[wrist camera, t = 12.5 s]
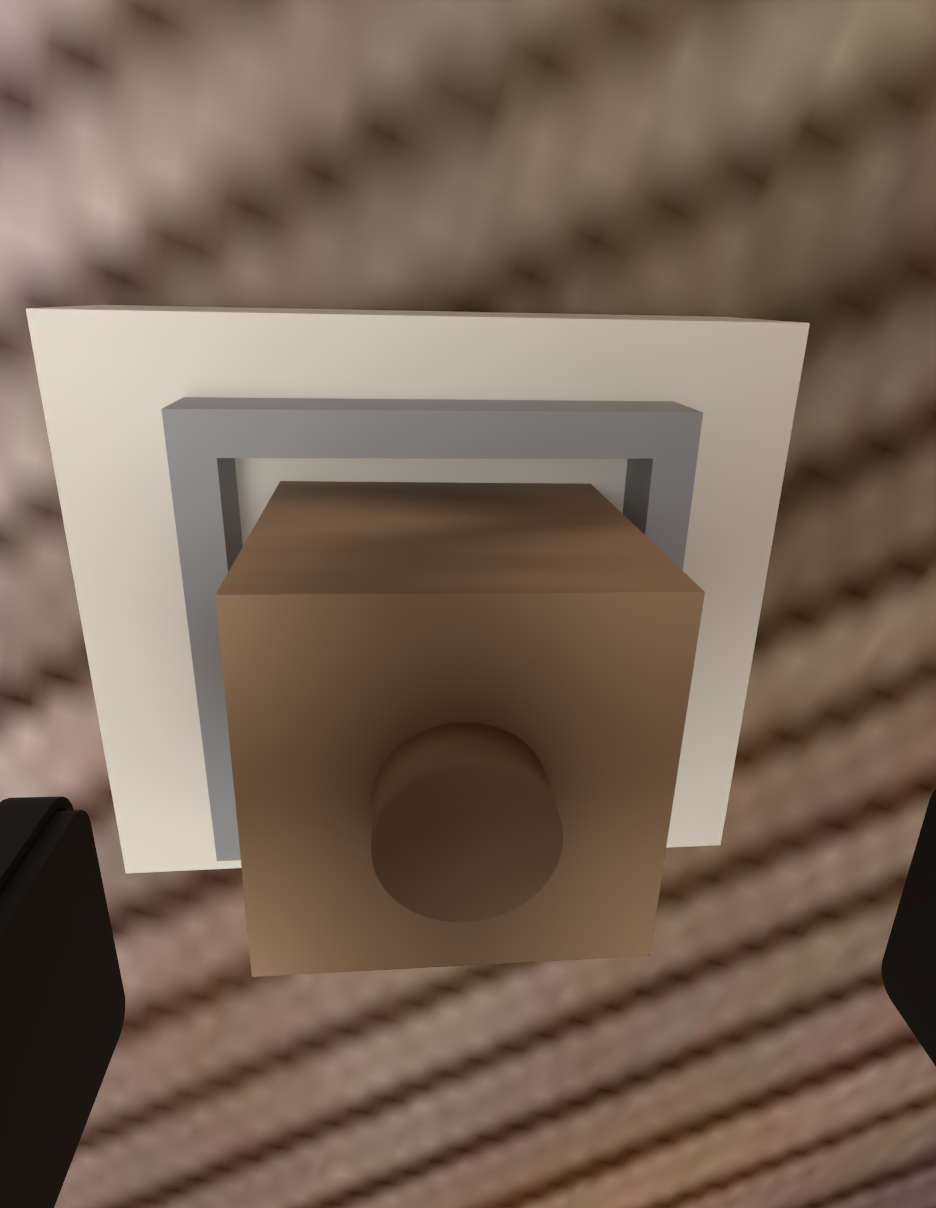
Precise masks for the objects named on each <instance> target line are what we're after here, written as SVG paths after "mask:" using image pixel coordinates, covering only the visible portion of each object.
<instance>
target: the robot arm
mask: <svg viewBox="0 0 936 1208" xmlns="http://www.w3.org/2000/svg"><path fill="white" fill-rule="evenodd" d="M882 978H883V983H884V986H885V989H886V991H887V994H888V995H889V997H890V999H891V1001H892V1002H893V1004H894V1005H895V1007H896V1008H897V1010H898V1011H899V1013H900V1014H901V1016H902V1017H903V1018H904V1020H905V1021H906V1023H907V1024H908V1026H909V1027H910V1029H911V1030H912V1032H913V1033H914V1035H915V1036H916V1038H917V1039H918V1041H919V1042H920V1044H921V1045H922V1047H923V1048H924V1050H925V1051H926V1053H927V1054H928V1055H929V1057H930V1058H931V1060H932V1061H933V1063H934V1064H935V1066H936V790H935V791H934V792H933V794H932V796H931V798H930V801H929V804H928V807H927V811H926V814H925V818H924V821H923V824H922V828H921V831H920V835H919V838H918V841H917V845H916V848H915V852H914V855H913V859H912V862H911V865H910V869H909V872H908V876H907V879H906V882H905V886H904V889H903V893H902V896H901V899H900V903H899V906H898V910H897V913H896V917H895V920H894V923H893V927H892V930H891V934H890V937H889V940H888V944H887V947H886V951H885V954H884V958H883V961H882ZM124 1014H125V995H124V989H123V984H122V979H121V974H120V969H119V964H118V959H117V954H116V949H115V944H114V939H113V933H112V928H111V923H110V918H109V913H108V908H107V903H106V898H105V893H104V888H103V883H102V878H101V873H100V868H99V862H98V857H97V852H96V847H95V842H94V837H93V832H92V827H91V822H90V819H89V816H88V814H87V813H86V812H85V811H83V810H73V807H72V804H71V803H70V801H69V800H68V799H67V798H65V797H28V798H8V799H5V800H3V801H2V802H0V1208H54V1206H55V1203H56V1201H57V1198H58V1196H59V1193H60V1190H61V1188H62V1185H63V1182H64V1180H65V1177H66V1175H67V1172H68V1169H69V1167H70V1164H71V1162H72V1159H73V1156H74V1154H75V1151H76V1149H77V1146H78V1143H79V1141H80V1138H81V1136H82V1133H83V1130H84V1128H85V1125H86V1122H87V1120H88V1117H89V1115H90V1112H91V1109H92V1107H93V1104H94V1102H95V1099H96V1096H97V1094H98V1091H99V1089H100V1086H101V1083H102V1081H103V1078H104V1076H105V1073H106V1070H107V1068H108V1065H109V1062H110V1060H111V1057H112V1055H113V1052H114V1049H115V1047H116V1044H117V1042H118V1039H119V1036H120V1033H121V1030H122V1026H123V1021H124Z"/></svg>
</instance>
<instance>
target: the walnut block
mask: <svg viewBox="0 0 936 1208" xmlns="http://www.w3.org/2000/svg"><path fill="white" fill-rule="evenodd" d="M704 595H705V592H704V591H703V590H702V589H701V588H700V587H699V586H698V585H697V584H696V583H695V582H694V581H693V580H692V579H691V578H690V577H689V576H688V575H687V574H685V573H684V572H683V571H682V570H681V569H680V568H679V567H678V566H677V565H676V564H675V563H674V562H673V561H672V560H671V559H670V558H669V557H668V556H666V555H665V554H664V553H663V552H662V551H661V550H660V549H659V548H658V547H657V546H656V545H655V544H654V543H653V542H652V541H651V540H650V539H649V538H648V537H646V536H645V535H644V534H643V533H642V532H641V531H640V530H639V529H638V528H637V527H636V526H635V525H634V524H633V523H632V522H631V521H630V520H629V519H627V518H626V517H625V516H624V515H623V514H622V513H621V512H620V511H619V510H618V509H617V508H616V507H615V506H614V505H613V504H612V503H611V502H610V501H608V500H607V499H606V498H605V497H604V496H603V495H602V494H601V493H600V492H599V491H598V490H597V489H596V488H595V487H594V486H593V485H592V484H578V483H456V482H334V481H280V482H279V484H278V486H277V488H276V489H275V491H274V493H273V495H272V496H271V498H270V500H269V502H268V503H267V505H266V507H265V509H264V510H263V512H262V514H261V516H260V517H259V519H258V521H257V523H256V525H255V526H254V528H253V530H252V532H251V533H250V535H249V537H248V539H247V540H246V542H245V544H244V546H243V547H242V549H241V551H240V553H239V554H238V556H237V558H236V560H235V561H234V563H233V565H232V567H231V568H230V570H229V572H228V574H227V575H226V577H225V579H224V581H223V583H222V584H221V586H220V588H219V590H218V591H217V593H216V595H215V596H216V606H217V616H218V627H219V637H220V648H221V658H222V669H223V679H224V689H225V700H226V710H227V721H228V731H229V742H230V752H231V763H232V773H233V783H234V794H235V804H236V815H237V825H238V836H239V846H240V856H241V867H242V877H243V888H244V898H245V909H246V919H247V930H248V940H249V950H250V961H251V971H252V977H258V976H277V975H296V974H314V973H333V972H352V971H371V970H389V969H408V968H427V967H446V966H464V965H483V964H502V963H521V962H539V961H558V960H577V959H596V958H615V957H633V956H650V951H651V944H652V938H653V931H654V925H655V918H656V911H657V905H658V898H659V892H660V885H661V878H662V872H663V865H664V859H665V852H666V846H667V839H668V832H669V826H670V819H671V813H672V806H673V799H674V793H675V786H676V780H677V773H678V766H679V760H680V753H681V747H682V740H683V734H684V727H685V720H686V714H687V707H688V701H689V694H690V687H691V681H692V674H693V668H694V661H695V655H696V648H697V641H698V635H699V628H700V622H701V615H702V608H703V602H704Z"/></svg>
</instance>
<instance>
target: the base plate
mask: <svg viewBox="0 0 936 1208" xmlns="http://www.w3.org/2000/svg"><path fill="white" fill-rule="evenodd" d="M26 313H27V319H28V324H29V330H30V336H31V341H32V347H33V353H34V358H35V364H36V369H37V375H38V381H39V386H40V392H41V398H42V403H43V409H44V415H45V420H46V426H47V431H48V437H49V443H50V448H51V454H52V460H53V465H54V471H55V477H56V482H57V488H58V493H59V499H60V505H61V510H62V516H63V522H64V527H65V533H66V539H67V544H68V550H69V555H70V561H71V567H72V572H73V578H74V584H75V589H76V595H77V600H78V606H79V612H80V617H81V623H82V629H83V634H84V640H85V646H86V651H87V657H88V662H89V668H90V674H91V679H92V685H93V691H94V696H95V702H96V708H97V713H98V719H99V724H100V730H101V736H102V741H103V747H104V753H105V758H106V764H107V770H108V775H109V781H110V786H111V792H112V798H113V803H114V809H115V815H116V820H117V826H118V832H119V837H120V843H121V848H122V854H123V860H124V865H125V871H126V873H144V872H165V871H186V870H207V869H227V868H242V867H241V856H240V846H239V836H238V825H237V815H236V804H235V794H234V783H233V773H232V763H231V752H230V742H229V731H228V721H227V710H226V700H225V689H224V679H223V669H222V658H221V648H220V637H219V627H218V616H217V606H216V596H215V595H216V593H217V591H218V590H219V588H220V586H221V584H222V583H223V581H224V579H225V577H226V575H227V574H228V572H229V570H230V568H231V567H232V565H233V563H234V561H235V560H236V558H237V556H238V554H239V553H240V551H241V549H242V547H243V546H244V544H245V542H246V540H247V539H248V537H249V535H250V533H251V532H252V530H253V528H254V526H255V525H256V523H257V521H258V519H259V517H260V516H261V514H262V512H263V510H264V509H265V507H266V505H267V503H268V502H269V500H270V498H271V496H272V495H273V493H274V491H275V489H276V488H277V486H278V484H279V482H280V481H334V482H456V483H578V484H592V485H593V486H594V487H595V488H596V489H597V490H598V491H599V492H600V493H601V494H602V495H603V496H604V497H605V498H606V499H607V500H608V501H610V502H611V503H612V504H613V505H614V506H615V507H616V508H617V509H618V510H619V511H620V512H621V513H622V514H623V515H624V516H625V517H626V518H627V519H629V520H630V521H631V522H632V523H633V524H634V525H635V526H636V527H637V528H638V529H639V530H640V531H641V532H642V533H643V534H644V535H645V536H646V537H648V538H649V539H650V540H651V541H652V542H653V543H654V544H655V545H656V546H657V547H658V548H659V549H660V550H661V551H662V552H663V553H664V554H665V555H666V556H668V557H669V558H670V559H671V560H672V561H673V562H674V563H675V564H676V565H677V566H678V567H679V568H680V569H681V570H682V571H683V572H684V573H685V574H687V575H688V576H689V577H690V578H691V579H692V580H693V581H694V582H695V583H696V584H697V585H698V586H699V587H700V588H701V589H702V590H703V591H704V592H705V595H704V602H703V608H702V615H701V622H700V628H699V635H698V641H697V648H696V655H695V661H694V668H693V674H692V681H691V687H690V694H689V701H688V707H687V714H686V720H685V727H684V734H683V740H682V747H681V753H680V760H679V766H678V773H677V780H676V786H675V793H674V799H673V806H672V813H671V819H670V826H669V832H668V839H667V846H666V848H668V847H689V846H710V845H721V839H722V833H723V828H724V822H725V816H726V810H727V804H728V798H729V793H730V787H731V781H732V775H733V769H734V763H735V758H736V752H737V746H738V740H739V734H740V728H741V723H742V717H743V711H744V705H745V699H746V693H747V687H748V682H749V676H750V670H751V664H752V658H753V652H754V647H755V641H756V635H757V629H758V623H759V617H760V612H761V606H762V600H763V594H764V588H765V582H766V577H767V571H768V565H769V559H770V553H771V547H772V542H773V536H774V530H775V524H776V518H777V512H778V506H779V501H780V495H781V489H782V483H783V477H784V471H785V466H786V460H787V454H788V448H789V442H790V436H791V431H792V425H793V419H794V413H795V407H796V401H797V396H798V390H799V384H800V378H801V372H802V366H803V360H804V355H805V349H806V343H807V337H808V331H809V325H810V323H803V322H789V321H776V320H762V319H749V318H736V317H715V316H663V315H610V314H558V313H506V312H454V311H401V310H349V309H297V308H244V307H192V306H140V305H90V306H69V307H48V308H26Z"/></svg>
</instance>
